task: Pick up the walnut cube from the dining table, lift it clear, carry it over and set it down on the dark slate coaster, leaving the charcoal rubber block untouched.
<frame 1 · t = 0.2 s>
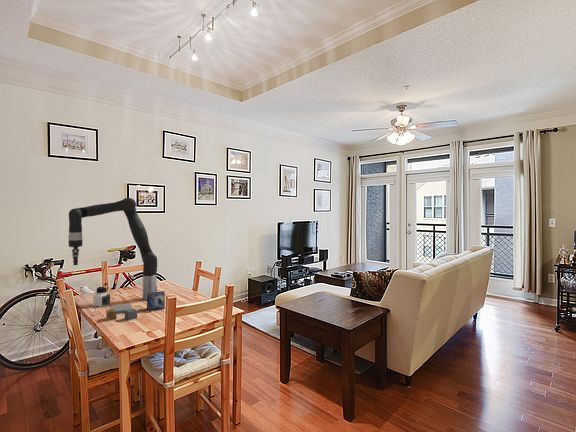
hand: (75, 264, 205), 29 cm above the table, fingers open, 8 cm apart
slate coaster: (120, 310, 203), on the table
small box: (155, 309, 208), on the table
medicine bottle: (101, 305, 214), on the table
charcoal block: (130, 318, 189), on the table
walnut cube: (111, 318, 188), on the table
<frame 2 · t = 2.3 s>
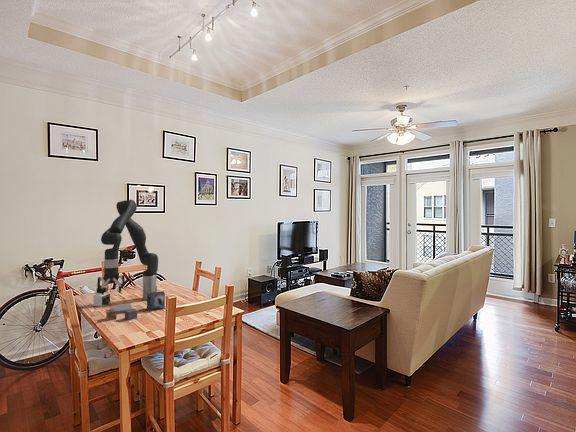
hand: (111, 293, 188), 15 cm above the table, fingers open, 8 cm apart
nothing on the table moved.
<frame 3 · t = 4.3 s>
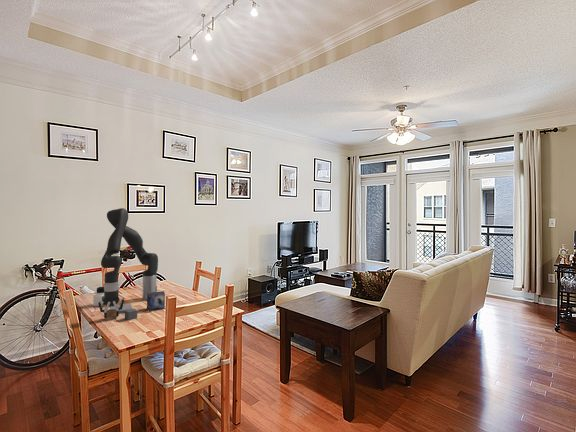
hand: (111, 317, 188), 1 cm above the table, fingers closed on walnut cube, 5 cm apart
walnut cube: (111, 318, 188), on the table, touching gripper
everything else where it was.
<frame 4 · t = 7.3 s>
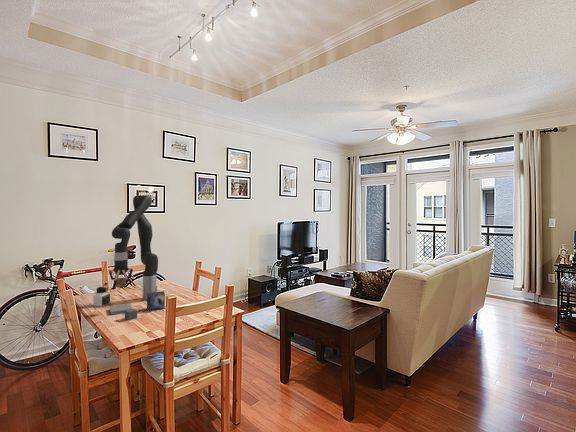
hand: (120, 285, 202), 16 cm above the table, fingers closed on walnut cube, 5 cm apart
walnut cube: (120, 286, 202), point 16 cm above the table, touching gripper
everything else where it was.
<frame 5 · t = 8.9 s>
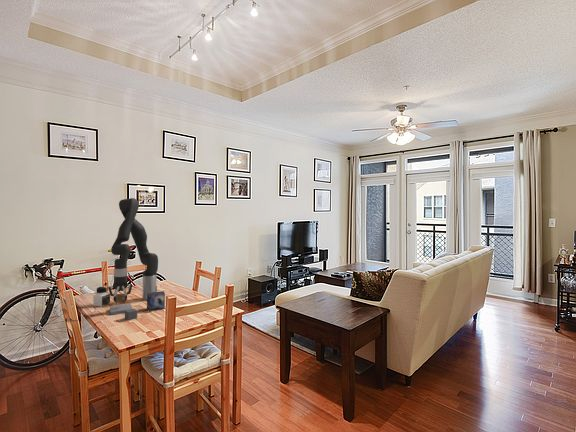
hand: (120, 301, 202), 6 cm above the table, fingers closed on walnut cube, 5 cm apart
walnut cube: (120, 302, 202), point 5 cm above the table, touching gripper
everything else where it was.
when the fingers open (4 cm above the table, at t = 10.4 s): walnut cube stays where it is, resting on slate coaster.
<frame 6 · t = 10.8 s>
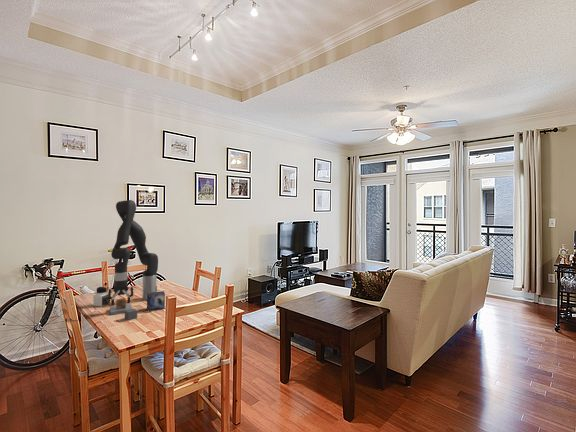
hand: (120, 304, 202), 4 cm above the table, fingers open, 8 cm apart
walnut cube: (120, 307, 203), point 2 cm above the table, touching slate coaster
everything else where it was.
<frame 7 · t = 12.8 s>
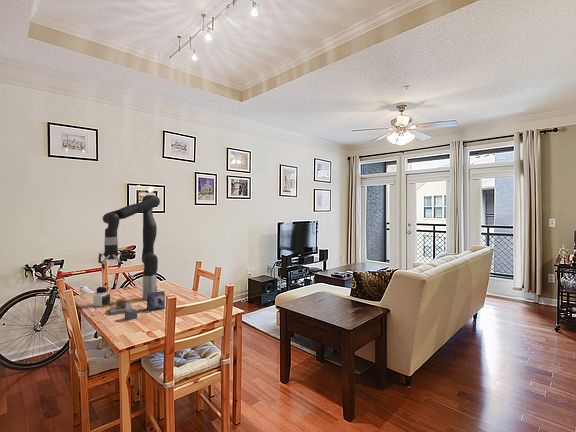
hand: (111, 268, 205), 26 cm above the table, fingers open, 8 cm apart
nothing on the table moved.
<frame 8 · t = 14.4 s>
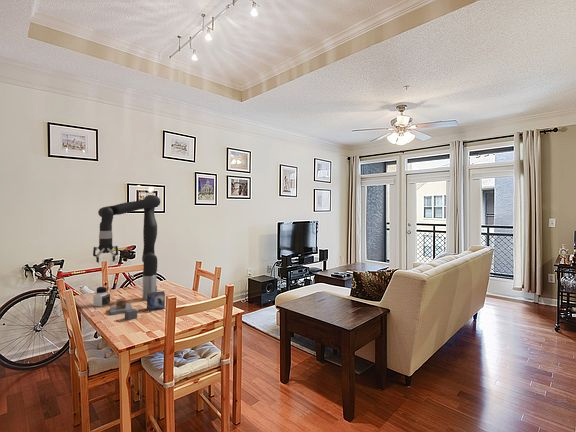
hand: (105, 262, 208), 30 cm above the table, fingers open, 8 cm apart
nothing on the table moved.
at the end: walnut cube inside the target area on the slate coaster (0.0 cm from its centre), point 2.0 cm above the slate coaster's base; walnut cube tilted 0°; the gripper is holding nothing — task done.
